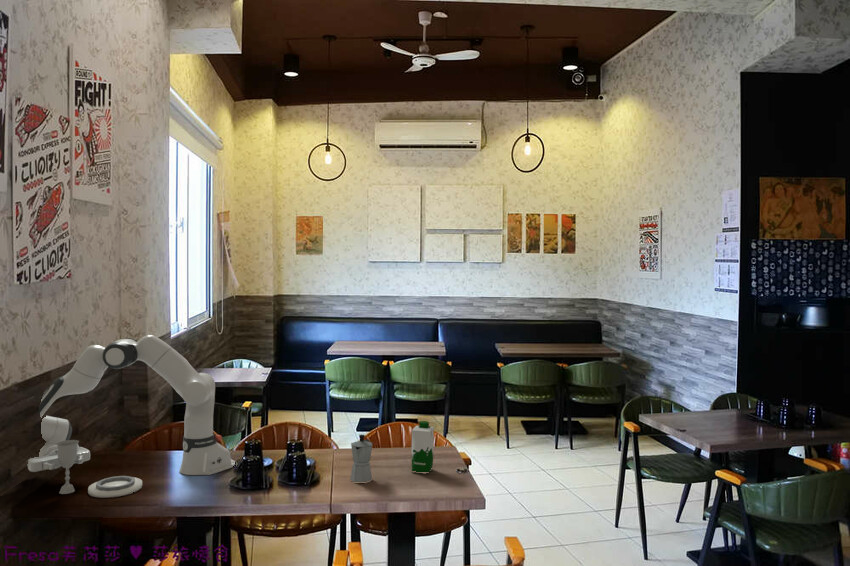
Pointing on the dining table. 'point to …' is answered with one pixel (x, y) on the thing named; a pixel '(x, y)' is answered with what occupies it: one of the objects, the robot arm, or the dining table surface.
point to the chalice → (67, 461)
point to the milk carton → (422, 447)
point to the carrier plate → (115, 486)
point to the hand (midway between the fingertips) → (67, 464)
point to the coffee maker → (361, 460)
